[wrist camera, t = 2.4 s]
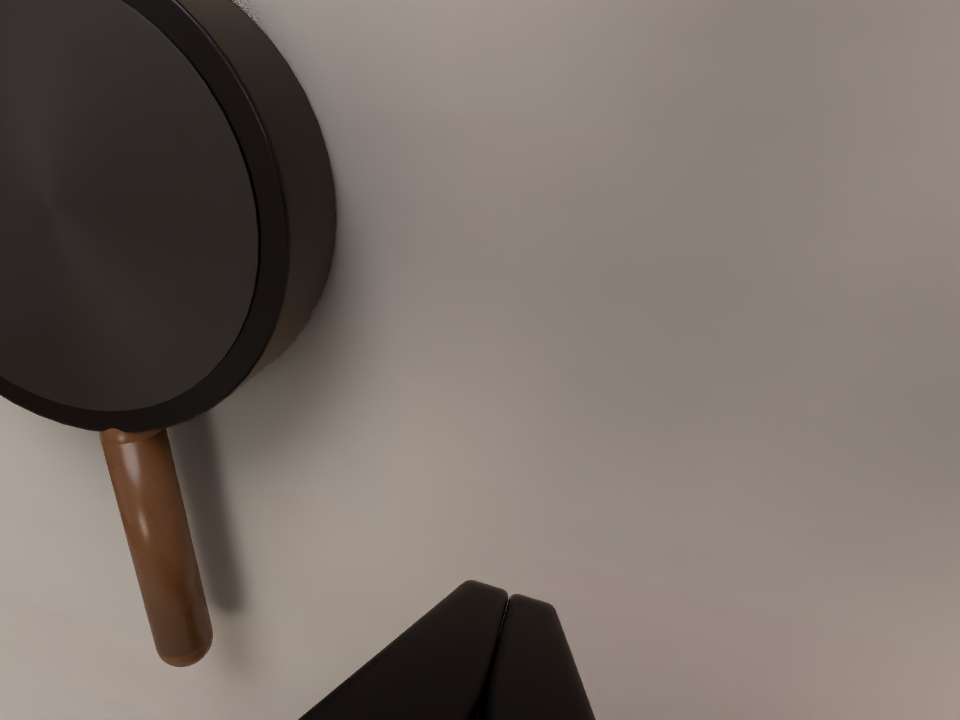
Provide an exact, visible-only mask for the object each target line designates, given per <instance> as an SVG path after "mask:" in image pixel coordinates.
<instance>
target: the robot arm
mask: <svg viewBox="0 0 960 720" xmlns="http://www.w3.org/2000/svg"><path fill="white" fill-rule="evenodd" d="M507 603H508V605H507ZM506 607H507V608H506ZM505 610H506V612H505ZM504 614H505V616H504ZM503 618H504V619H503ZM502 622H503V623H502ZM501 626H502V627H501ZM499 633H500V634H499ZM498 637H499V638H498ZM298 720H596V719H595V717H594V714H593V711H592V708H591V706H590V703H589V700H588V697H587V695H586V692H585V689H584V687H583V684H582V681H581V678H580V676H579V673H578V670H577V667H576V665H575V662H574V659H573V656H572V654H571V651H570V648H569V645H568V643H567V640H566V637H565V634H564V632H563V629H562V626H561V623H560V621H559V618H558V615H557V613H556V610H555V608H554V607H553V606H552V605H551V604H549V603H547V602H543V601H540V600H537V599H534V598H530V597H527V596H524V595H520V594H514V595H512V596H511V597H510V598H509V601H508V593H507V592H506V591H505V590H503V589H501V588H497V587H494V586H491V585H488V584H484V583H481V582H478V581H475V580H468V581H465V582H464V583H463V584H461V585H460V586H459V587H458V588H456V589H455V590H454V591H453V592H452V593H450V594H449V595H448V596H447V597H446V598H444V599H443V600H442V601H441V602H440V603H438V604H437V605H436V606H435V607H434V608H432V609H431V610H430V611H429V612H428V613H426V614H425V615H424V616H423V617H421V618H420V619H419V620H418V621H417V622H415V623H414V624H413V625H412V626H411V627H409V628H408V629H407V630H406V631H405V632H403V633H402V634H401V635H400V636H399V637H397V638H396V639H395V640H394V641H392V642H391V643H390V644H389V645H388V646H386V647H385V648H384V649H383V650H382V651H380V652H379V653H378V654H377V655H376V656H374V657H373V658H372V659H371V660H370V661H368V662H367V663H366V664H365V665H364V666H362V667H361V668H360V669H359V670H357V671H356V672H355V673H354V674H353V675H351V676H350V677H349V678H348V679H347V680H345V681H344V682H343V683H342V684H341V685H339V686H338V687H337V688H336V689H335V690H333V691H332V692H331V693H330V694H329V695H327V696H326V697H325V698H324V699H322V700H321V701H320V702H319V703H318V704H316V705H315V706H314V707H313V708H312V709H310V710H309V711H308V712H307V713H306V714H304V715H303V716H302V717H301V718H300V719H298Z"/></svg>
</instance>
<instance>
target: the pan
mask: <svg viewBox="0 0 960 720" xmlns="http://www.w3.org/2000/svg"><path fill="white" fill-rule="evenodd" d="M335 221H336V212H335V197H334V184H333V179H332V173H331V168H330V163H329V157H328V153H327V150H326V147H325V143H324V140H323V137H322V134H321V130H320V127H319V124H318V121H317V119H316V117H315V115H314V112H313V110H312V108H311V106H310V103H309V101H308V99H307V97H306V94H305V92H304V90H303V89H302V87H301V85H300V84H299V82H298V80H297V78H296V77H295V75H294V73H293V72H292V70H291V68H290V66H289V65H288V63H287V62H286V60H285V59H284V58H283V56H282V55H281V54H280V52H279V51H278V49H277V48H276V47H275V45H274V44H273V43H272V41H271V40H270V39H269V37H268V36H267V35H266V34H265V33H264V32H263V31H262V30H261V29H260V27H259V26H258V25H257V24H256V23H255V22H254V21H253V20H252V19H251V18H250V17H249V16H248V15H247V14H246V13H245V12H244V11H243V10H242V9H241V8H240V7H239V6H237V5H236V4H235V3H234V2H233V1H231V0H0V395H1V396H3V397H4V398H6V399H8V400H9V401H11V402H12V403H14V404H16V405H18V406H21V407H23V408H25V409H27V410H29V411H31V412H33V413H35V414H37V415H39V416H42V417H45V418H48V419H50V420H53V421H56V422H59V423H61V424H65V425H69V426H73V427H77V428H81V429H86V430H91V431H99V432H100V440H101V443H102V447H103V451H104V455H105V458H106V462H107V466H108V470H109V473H110V477H111V481H112V485H113V489H114V492H115V496H116V500H117V504H118V507H119V511H120V515H121V519H122V522H123V526H124V530H125V534H126V537H127V541H128V545H129V549H130V552H131V556H132V560H133V564H134V567H135V571H136V575H137V579H138V582H139V586H140V590H141V594H142V598H143V601H144V605H145V609H146V613H147V616H148V620H149V624H150V628H151V631H152V635H153V639H154V643H155V646H156V650H157V652H158V654H159V656H160V657H161V659H162V660H163V661H164V662H166V663H167V664H169V665H172V666H175V667H186V666H190V665H193V664H195V663H196V662H198V661H199V660H201V659H202V658H203V657H204V656H205V655H206V653H207V652H208V650H209V649H210V646H211V644H212V639H213V630H212V625H211V621H210V616H209V612H208V608H207V603H206V599H205V595H204V590H203V586H202V582H201V577H200V573H199V569H198V564H197V560H196V556H195V551H194V547H193V543H192V538H191V534H190V530H189V525H188V521H187V517H186V512H185V508H184V504H183V499H182V495H181V491H180V486H179V482H178V477H177V473H176V469H175V464H174V460H173V456H172V451H171V447H170V443H169V438H168V434H167V430H166V428H168V427H171V426H174V425H177V424H180V423H183V422H186V421H189V420H191V419H193V418H195V417H197V416H199V415H201V414H203V413H205V412H207V411H209V410H210V409H212V408H213V407H215V406H216V405H217V404H219V403H220V402H221V401H223V400H224V399H225V398H227V397H228V396H229V395H231V394H232V393H233V392H235V391H236V390H237V389H238V388H240V387H241V386H242V385H243V384H245V383H246V382H247V381H249V380H250V379H251V378H252V377H254V376H255V375H256V374H257V373H259V372H260V371H261V370H263V369H264V368H265V367H266V366H268V365H269V364H270V363H271V362H273V361H274V360H275V359H276V358H278V357H279V356H280V355H281V354H282V353H283V352H284V351H285V350H286V349H287V348H288V347H289V346H290V345H291V344H292V343H293V342H294V341H295V339H296V338H297V337H298V335H299V334H300V332H301V331H302V329H303V328H304V327H305V325H306V324H307V322H308V321H309V319H310V317H311V315H312V313H313V311H314V309H315V307H316V306H317V304H318V302H319V300H320V298H321V295H322V292H323V289H324V286H325V283H326V280H327V277H328V274H329V269H330V264H331V259H332V254H333V248H334V238H335Z"/></svg>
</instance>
